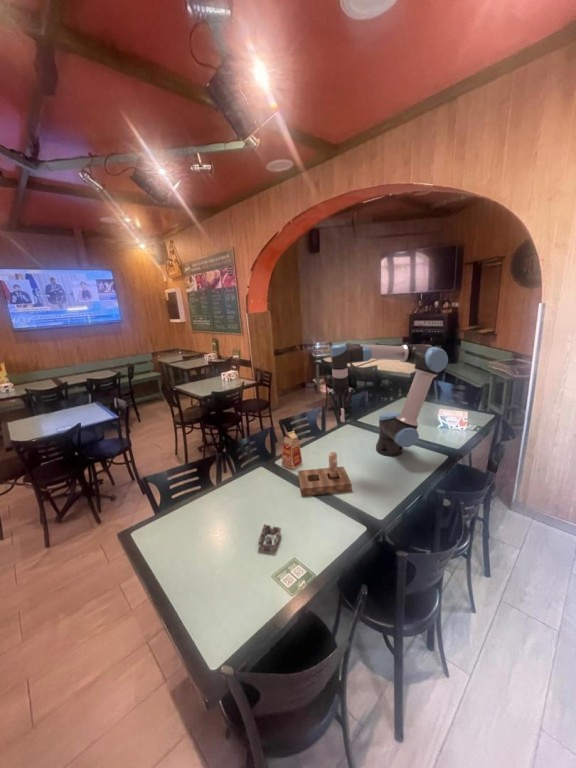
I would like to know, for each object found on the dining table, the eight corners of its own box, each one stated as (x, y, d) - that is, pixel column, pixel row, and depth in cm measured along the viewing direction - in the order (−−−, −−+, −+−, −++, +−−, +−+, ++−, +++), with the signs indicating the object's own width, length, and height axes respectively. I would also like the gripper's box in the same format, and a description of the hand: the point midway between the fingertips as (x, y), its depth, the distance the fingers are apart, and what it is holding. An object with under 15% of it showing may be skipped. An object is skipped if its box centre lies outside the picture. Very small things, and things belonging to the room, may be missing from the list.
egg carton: (265, 531, 127) (264, 522, 126) (283, 533, 125) (282, 524, 124) (256, 551, 117) (255, 542, 116) (275, 553, 115) (275, 544, 114)
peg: (336, 480, 158) (336, 451, 154) (338, 485, 154) (337, 455, 150) (328, 481, 157) (327, 452, 153) (330, 485, 153) (329, 456, 149)
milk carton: (294, 469, 171) (291, 435, 165) (281, 465, 176) (278, 432, 171) (303, 462, 178) (301, 429, 172) (290, 458, 183) (288, 426, 178)
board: (343, 473, 164) (343, 466, 162) (351, 491, 148) (351, 483, 147) (298, 477, 162) (297, 470, 161) (301, 496, 147) (301, 488, 146)
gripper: (350, 373, 157) (352, 416, 163) (325, 376, 156) (328, 420, 162) (355, 376, 150) (357, 422, 156) (328, 379, 149) (331, 425, 155)
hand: (342, 421), depth 159 cm, fingers closed
